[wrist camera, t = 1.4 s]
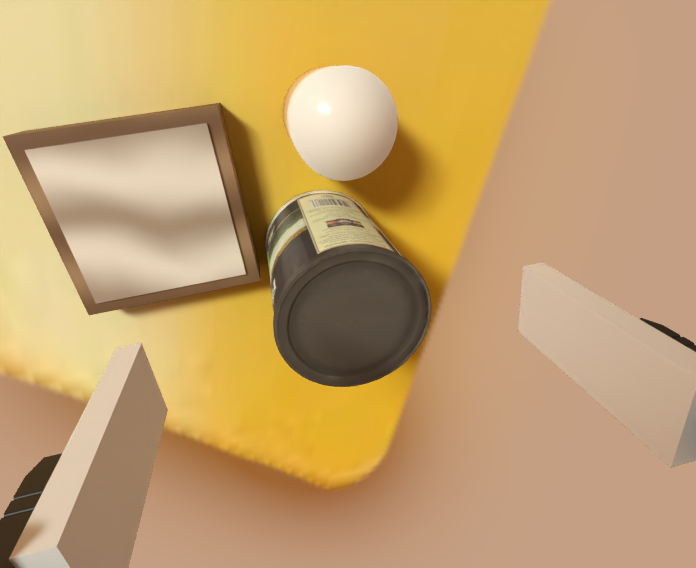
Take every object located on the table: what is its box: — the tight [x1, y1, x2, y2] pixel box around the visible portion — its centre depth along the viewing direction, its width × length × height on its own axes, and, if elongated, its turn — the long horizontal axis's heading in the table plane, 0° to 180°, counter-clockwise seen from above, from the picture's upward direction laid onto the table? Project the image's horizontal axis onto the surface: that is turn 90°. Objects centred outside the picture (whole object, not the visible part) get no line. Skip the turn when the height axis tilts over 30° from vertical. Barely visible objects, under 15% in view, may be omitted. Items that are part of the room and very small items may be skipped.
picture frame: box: [3, 103, 260, 315], centre depth 33 cm, size 14×14×3 cm
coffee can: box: [265, 190, 431, 387], centre depth 33 cm, size 10×10×14 cm
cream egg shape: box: [283, 65, 398, 181], centre depth 31 cm, size 7×7×8 cm
